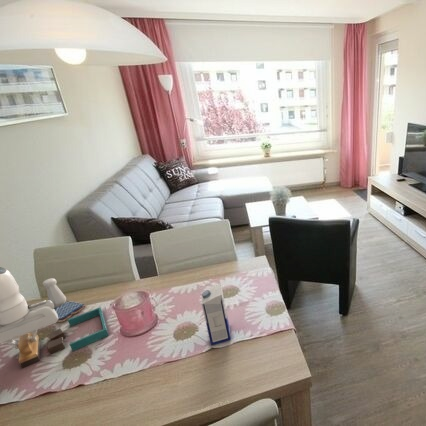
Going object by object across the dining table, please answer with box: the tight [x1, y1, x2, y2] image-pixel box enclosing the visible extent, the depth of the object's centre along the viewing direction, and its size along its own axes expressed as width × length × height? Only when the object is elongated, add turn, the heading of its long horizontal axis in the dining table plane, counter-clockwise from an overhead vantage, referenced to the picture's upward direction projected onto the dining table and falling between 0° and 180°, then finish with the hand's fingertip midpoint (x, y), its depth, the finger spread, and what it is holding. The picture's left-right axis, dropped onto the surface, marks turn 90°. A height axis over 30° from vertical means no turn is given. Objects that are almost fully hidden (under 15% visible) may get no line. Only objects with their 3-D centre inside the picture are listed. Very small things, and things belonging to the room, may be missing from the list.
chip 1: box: [46, 328, 66, 342], centre depth 109 cm, size 4×4×2 cm
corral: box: [67, 306, 109, 352], centre depth 113 cm, size 11×18×3 cm, turn 41°
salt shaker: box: [42, 277, 67, 309], centre depth 127 cm, size 6×6×13 cm
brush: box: [18, 332, 42, 369], centre depth 102 cm, size 4×12×7 cm, turn 41°
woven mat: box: [54, 300, 86, 323], centre depth 123 cm, size 10×11×2 cm
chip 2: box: [47, 337, 66, 355], centre depth 105 cm, size 4×4×2 cm
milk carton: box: [201, 283, 232, 346], centre depth 104 cm, size 7×7×20 cm
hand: (26, 344), depth 102 cm, fingers closed on brush, 2 cm apart
